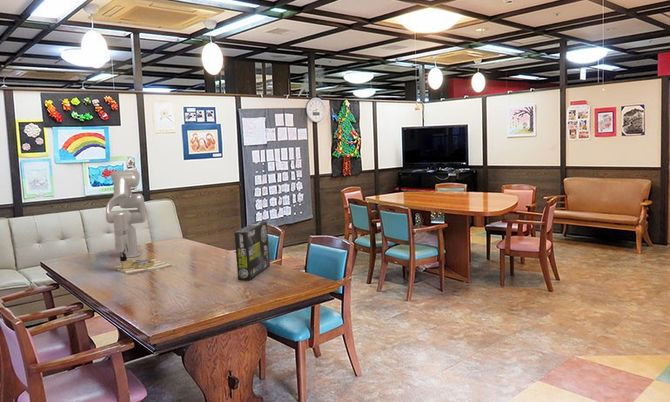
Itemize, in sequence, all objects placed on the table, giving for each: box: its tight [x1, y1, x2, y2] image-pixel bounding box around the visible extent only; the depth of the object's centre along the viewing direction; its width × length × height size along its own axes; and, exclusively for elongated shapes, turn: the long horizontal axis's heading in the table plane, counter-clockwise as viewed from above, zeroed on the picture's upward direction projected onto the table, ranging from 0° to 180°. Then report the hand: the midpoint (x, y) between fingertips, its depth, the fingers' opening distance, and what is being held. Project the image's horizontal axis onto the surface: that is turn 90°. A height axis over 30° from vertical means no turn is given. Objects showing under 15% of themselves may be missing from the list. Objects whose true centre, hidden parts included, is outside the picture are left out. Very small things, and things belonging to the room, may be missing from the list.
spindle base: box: [112, 258, 173, 276], centre depth 323 cm, size 26×26×4 cm
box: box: [233, 221, 271, 281], centre depth 296 cm, size 34×7×27 cm, turn 168°
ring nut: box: [120, 258, 155, 269], centre depth 321 cm, size 14×19×5 cm
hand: (123, 262), depth 318 cm, fingers closed
